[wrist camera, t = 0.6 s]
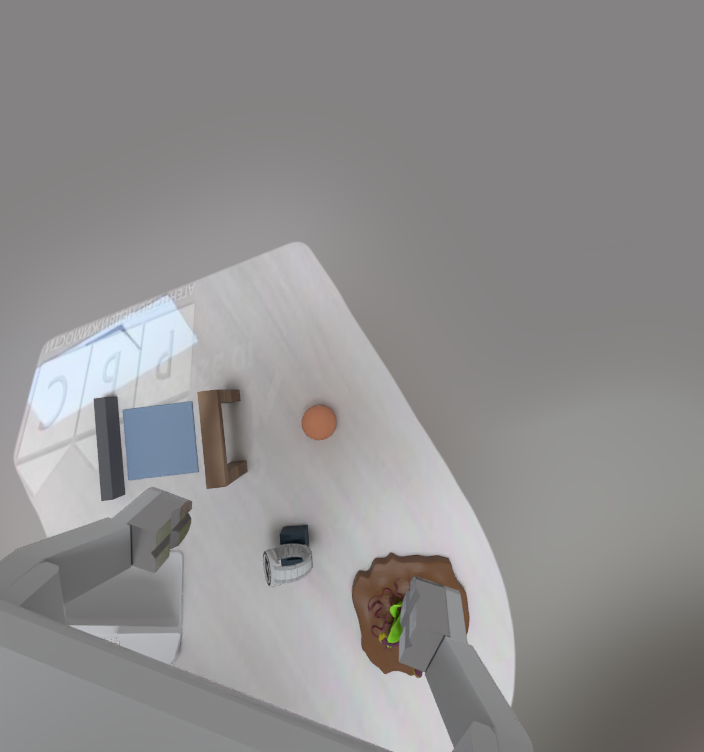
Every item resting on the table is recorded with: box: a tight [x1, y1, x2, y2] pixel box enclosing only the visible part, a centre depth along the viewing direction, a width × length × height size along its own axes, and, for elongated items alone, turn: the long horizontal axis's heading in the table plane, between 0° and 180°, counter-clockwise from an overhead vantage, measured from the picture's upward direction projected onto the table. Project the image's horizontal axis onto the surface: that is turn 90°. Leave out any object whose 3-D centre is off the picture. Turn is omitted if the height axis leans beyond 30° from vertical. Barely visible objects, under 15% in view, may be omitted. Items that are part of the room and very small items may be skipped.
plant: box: [352, 553, 469, 678], centre depth 53 cm, size 20×20×11 cm
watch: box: [263, 525, 313, 587], centre depth 53 cm, size 6×8×11 cm
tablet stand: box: [64, 551, 184, 664], centre depth 51 cm, size 18×25×17 cm
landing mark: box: [123, 401, 199, 480], centre depth 60 cm, size 13×13×1 cm
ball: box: [302, 406, 336, 440], centre depth 57 cm, size 6×6×6 cm
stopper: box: [94, 397, 125, 501], centre depth 59 cm, size 18×2×3 cm, turn 7°
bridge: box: [198, 390, 248, 489], centre depth 55 cm, size 3×15×10 cm, turn 7°
